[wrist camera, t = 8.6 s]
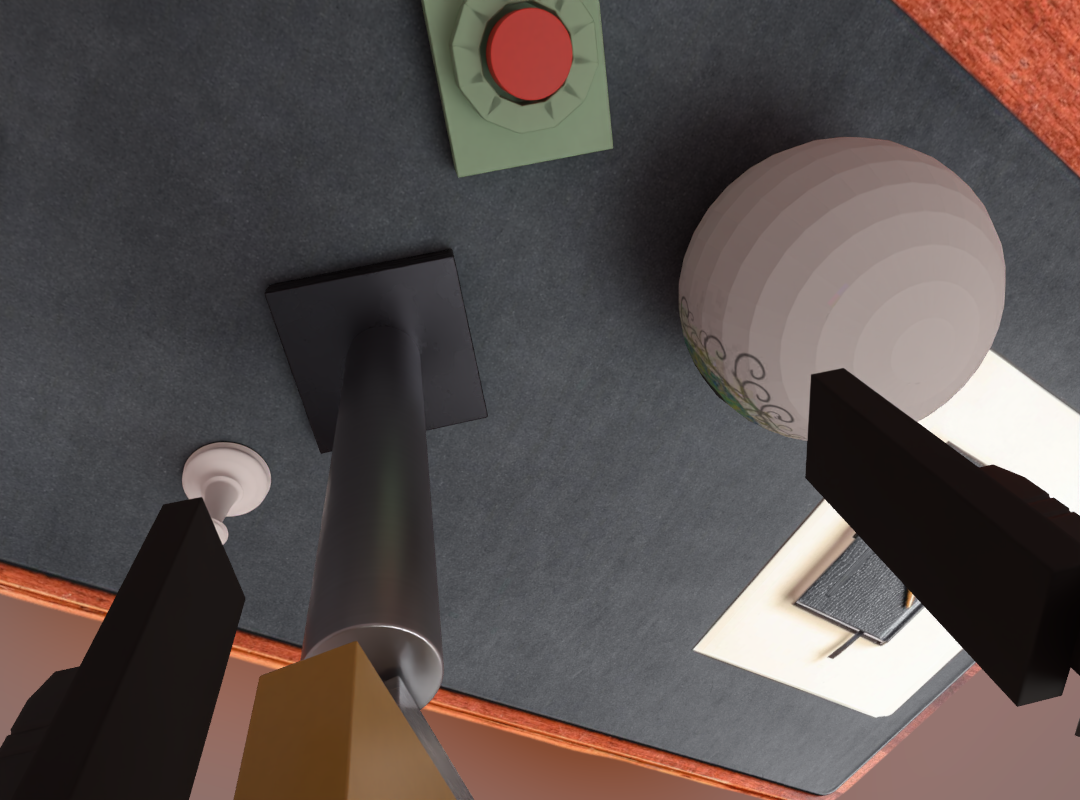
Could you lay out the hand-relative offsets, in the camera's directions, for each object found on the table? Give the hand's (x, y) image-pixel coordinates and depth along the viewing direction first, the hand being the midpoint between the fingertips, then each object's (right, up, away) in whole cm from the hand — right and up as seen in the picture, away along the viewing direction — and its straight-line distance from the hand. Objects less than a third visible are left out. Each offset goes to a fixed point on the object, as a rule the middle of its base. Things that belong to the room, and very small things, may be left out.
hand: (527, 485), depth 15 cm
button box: (-1, +19, +20) cm, 28 cm away
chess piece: (-19, -3, +28) cm, 33 cm away
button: (0, +17, +17) cm, 24 cm away
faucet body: (-9, +5, +26) cm, 28 cm away
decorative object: (+14, +11, +27) cm, 32 cm away
